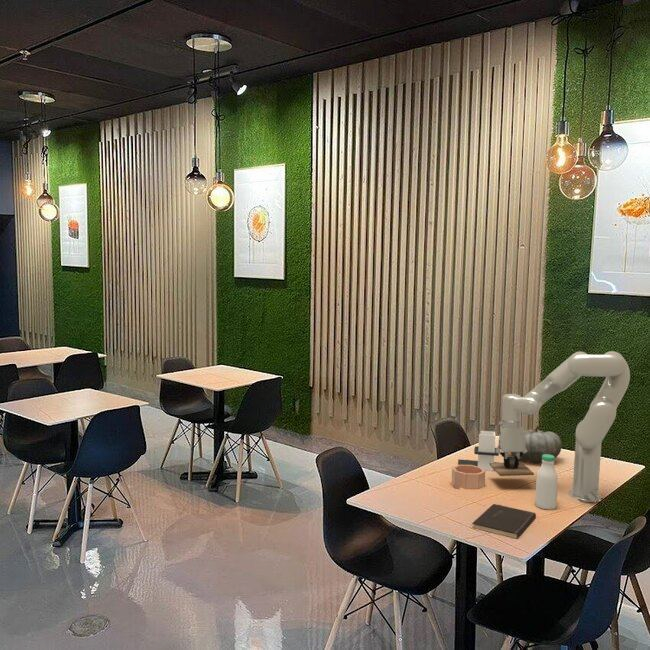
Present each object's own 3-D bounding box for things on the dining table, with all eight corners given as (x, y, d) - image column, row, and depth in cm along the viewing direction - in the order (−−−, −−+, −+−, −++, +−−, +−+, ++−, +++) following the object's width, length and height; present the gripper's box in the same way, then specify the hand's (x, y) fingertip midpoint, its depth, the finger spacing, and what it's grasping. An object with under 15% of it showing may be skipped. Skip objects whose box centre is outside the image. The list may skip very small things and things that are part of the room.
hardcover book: (471, 529, 229) (472, 522, 229) (493, 509, 248) (493, 503, 248) (517, 540, 220) (517, 533, 220) (535, 519, 240) (536, 513, 240)
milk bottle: (556, 511, 246) (558, 459, 244) (534, 508, 249) (537, 457, 247) (556, 504, 254) (559, 454, 252) (535, 501, 256) (538, 451, 254)
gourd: (543, 466, 294) (541, 427, 295) (495, 462, 312) (494, 425, 314) (571, 461, 310) (569, 424, 312) (524, 458, 329) (522, 423, 330)
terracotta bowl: (487, 491, 267) (488, 474, 266) (456, 490, 266) (457, 474, 266) (478, 480, 279) (479, 464, 279) (449, 480, 279) (450, 464, 278)
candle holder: (458, 459, 310) (459, 425, 309) (511, 463, 305) (512, 428, 304) (457, 474, 286) (459, 437, 285) (515, 479, 281) (517, 441, 280)
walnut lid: (533, 475, 266) (534, 462, 266) (499, 476, 265) (500, 463, 265) (521, 463, 280) (522, 451, 279) (489, 464, 279) (489, 452, 279)
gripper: (494, 426, 267) (494, 470, 269) (534, 425, 268) (533, 469, 269) (489, 422, 275) (489, 465, 276) (527, 421, 275) (527, 464, 277)
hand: (511, 467), depth 273 cm, fingers closed on walnut lid, 3 cm apart
